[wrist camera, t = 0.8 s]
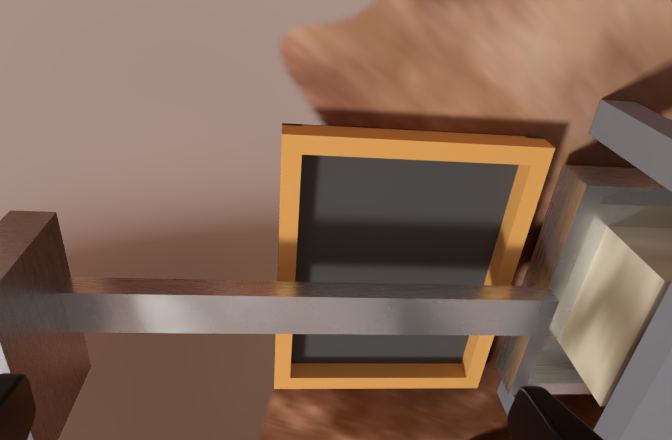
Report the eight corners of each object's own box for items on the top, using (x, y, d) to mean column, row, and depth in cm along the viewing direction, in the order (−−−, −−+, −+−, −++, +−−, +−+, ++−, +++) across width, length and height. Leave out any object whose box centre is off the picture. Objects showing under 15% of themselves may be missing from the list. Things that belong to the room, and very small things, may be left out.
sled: (694, 365, 29) (801, 481, 23) (78, 364, 25) (10, 503, 19) (812, 176, 23) (1000, 266, 17) (22, 139, 19) (-102, 238, 13)
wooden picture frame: (470, 371, 28) (477, 387, 27) (274, 371, 27) (274, 388, 26) (542, 137, 21) (555, 148, 20) (282, 123, 20) (281, 134, 19)
